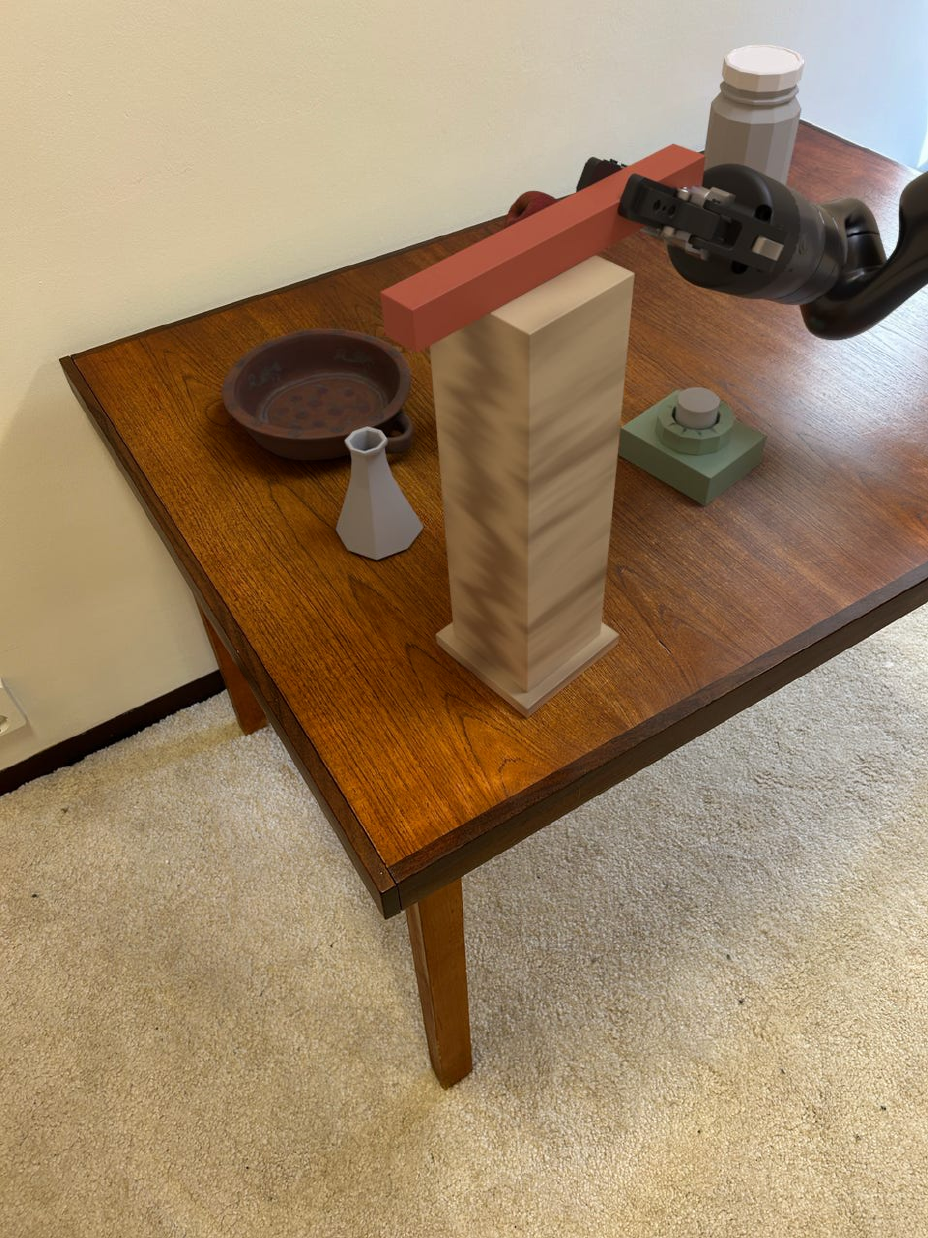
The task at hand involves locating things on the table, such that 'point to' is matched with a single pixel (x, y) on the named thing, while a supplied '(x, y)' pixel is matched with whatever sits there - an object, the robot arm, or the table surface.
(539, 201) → the apple
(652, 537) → the table surface
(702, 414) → the grey push button
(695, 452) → the green button base
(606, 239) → the rod
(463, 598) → the stand
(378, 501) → the flask
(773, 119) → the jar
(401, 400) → the dish
